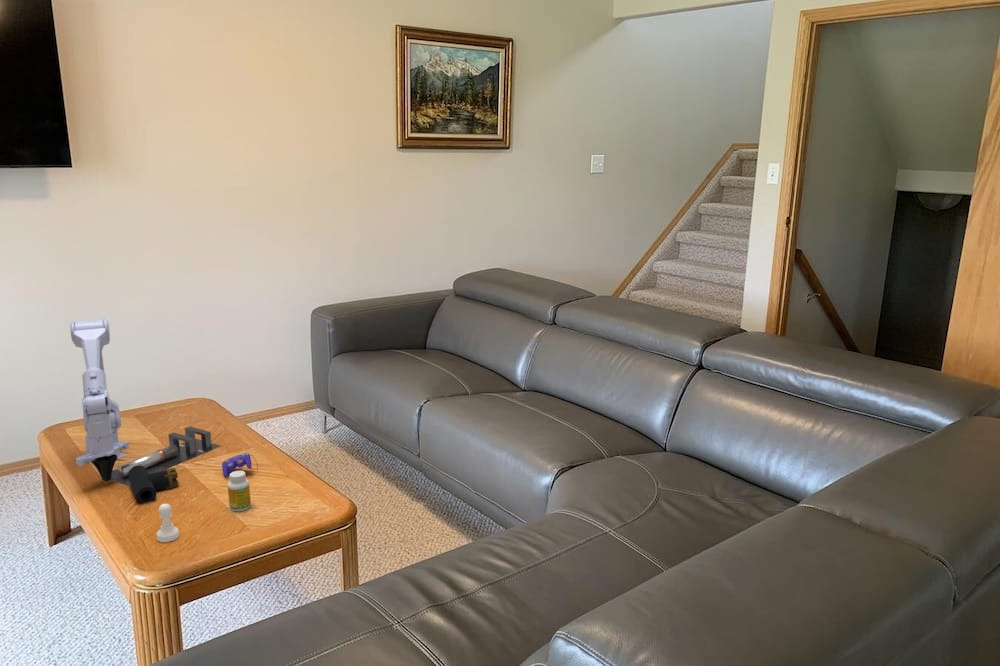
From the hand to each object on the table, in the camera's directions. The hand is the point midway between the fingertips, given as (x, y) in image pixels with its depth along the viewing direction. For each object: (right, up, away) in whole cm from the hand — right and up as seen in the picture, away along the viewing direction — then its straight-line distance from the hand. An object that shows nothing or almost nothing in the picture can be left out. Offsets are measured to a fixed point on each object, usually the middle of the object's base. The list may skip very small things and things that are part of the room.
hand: (106, 480), depth 212 cm
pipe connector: (+15, -2, -3) cm, 16 cm away
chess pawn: (+30, -9, -27) cm, 41 cm away
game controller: (+34, 0, +9) cm, 35 cm away
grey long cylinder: (+7, +2, +12) cm, 13 cm away
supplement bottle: (+42, -5, -12) cm, 44 cm away
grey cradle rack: (+9, +2, +15) cm, 17 cm away
